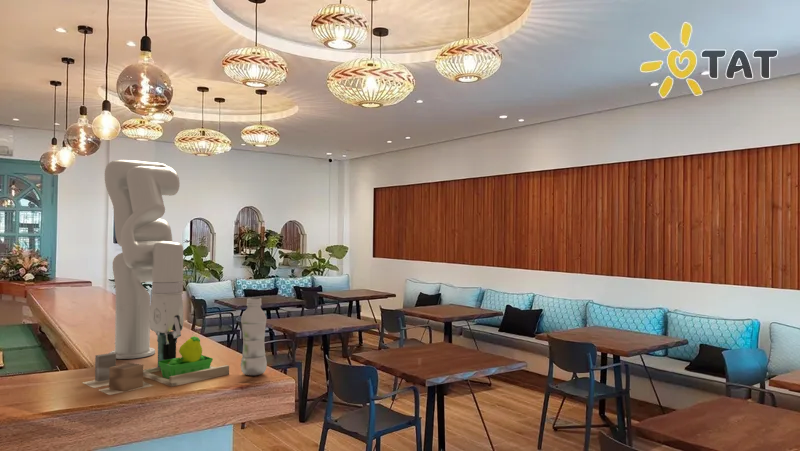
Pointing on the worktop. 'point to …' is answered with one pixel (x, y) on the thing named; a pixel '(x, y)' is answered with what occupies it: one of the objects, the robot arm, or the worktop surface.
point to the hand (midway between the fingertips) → (166, 357)
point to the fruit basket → (186, 360)
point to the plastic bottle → (253, 338)
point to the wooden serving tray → (184, 377)
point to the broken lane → (109, 391)
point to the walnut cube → (125, 377)
